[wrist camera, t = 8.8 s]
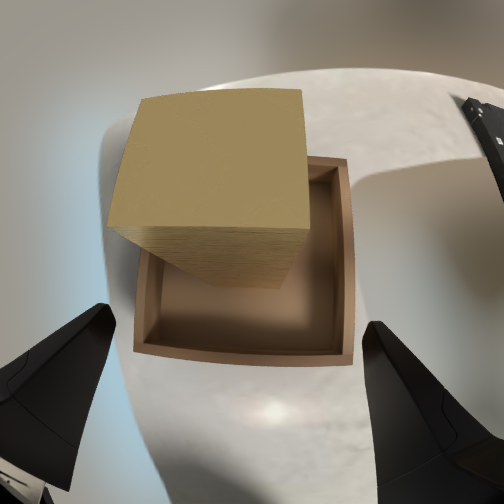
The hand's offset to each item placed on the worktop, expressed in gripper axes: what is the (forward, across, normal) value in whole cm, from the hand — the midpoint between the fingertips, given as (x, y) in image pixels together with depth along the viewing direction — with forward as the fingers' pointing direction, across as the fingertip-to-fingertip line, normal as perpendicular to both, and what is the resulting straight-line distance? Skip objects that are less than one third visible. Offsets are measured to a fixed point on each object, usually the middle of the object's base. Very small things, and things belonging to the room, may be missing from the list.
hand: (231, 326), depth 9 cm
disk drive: (+21, -31, -5) cm, 38 cm away
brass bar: (+8, 0, +3) cm, 9 cm away
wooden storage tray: (+10, 0, +4) cm, 11 cm away
